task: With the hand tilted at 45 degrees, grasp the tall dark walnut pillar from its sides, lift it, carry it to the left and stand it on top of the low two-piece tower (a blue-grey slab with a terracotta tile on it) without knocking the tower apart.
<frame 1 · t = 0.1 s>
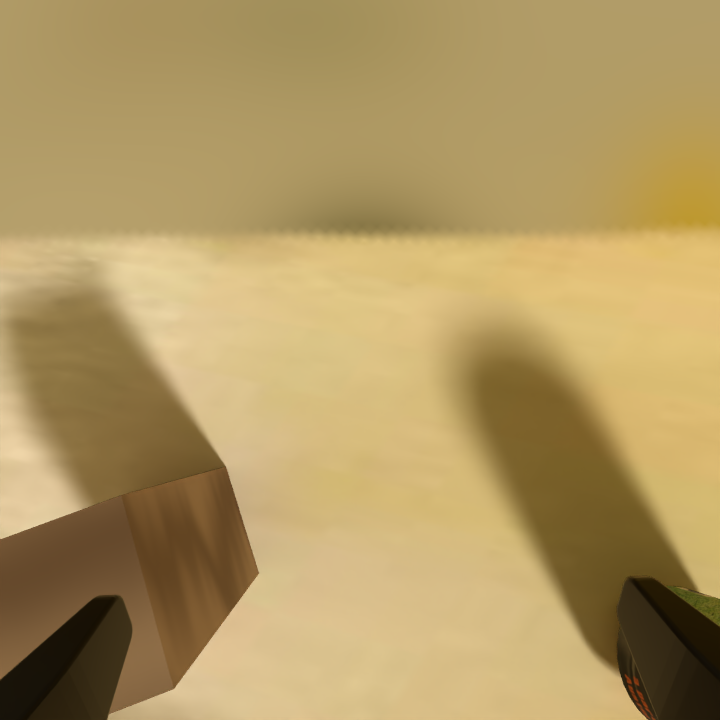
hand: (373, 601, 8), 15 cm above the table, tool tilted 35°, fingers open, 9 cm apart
walnut pillar: (190, 538, 23), on the table
beverage can: (671, 634, 22), on the table
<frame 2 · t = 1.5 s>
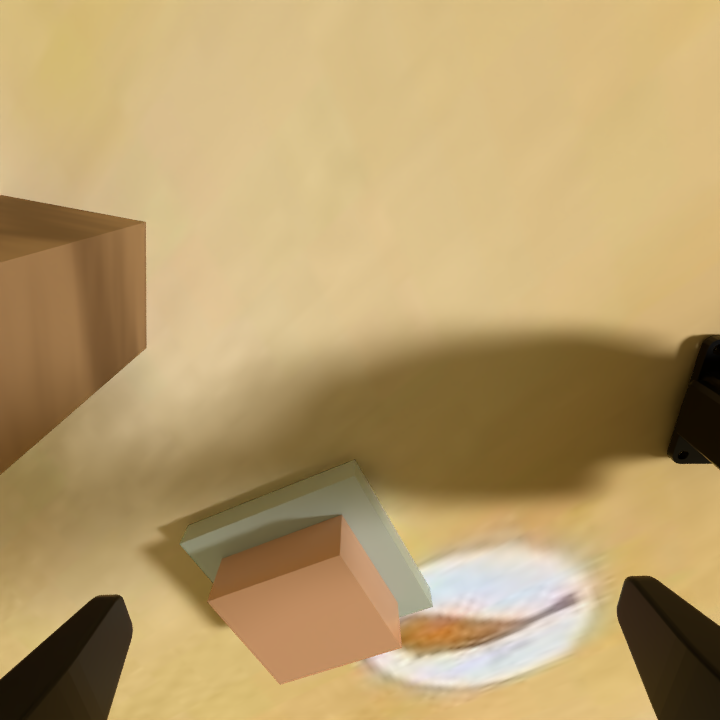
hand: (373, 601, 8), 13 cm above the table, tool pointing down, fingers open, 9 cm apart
walnut pillar: (79, 276, 19), on the table
blue-grey slab: (314, 547, 26), on the table, touching terracotta tile
terracotta tile: (312, 581, 24), point 1 cm above the table, touching blue-grey slab
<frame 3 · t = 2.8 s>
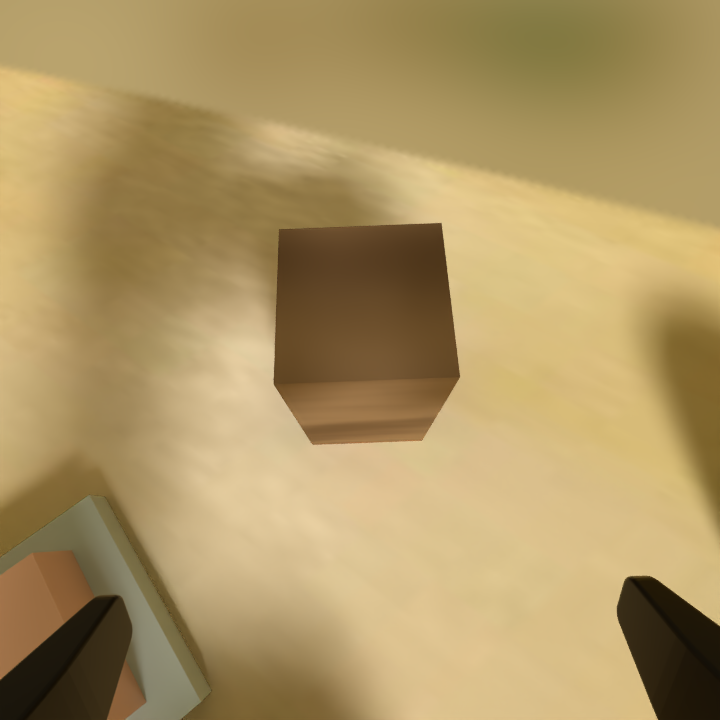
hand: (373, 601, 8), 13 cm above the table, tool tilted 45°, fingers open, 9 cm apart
walnut pillar: (365, 390, 24), on the table
blue-grey slab: (62, 661, 20), on the table, touching terracotta tile
terracotta tile: (28, 682, 18), point 1 cm above the table, touching blue-grey slab
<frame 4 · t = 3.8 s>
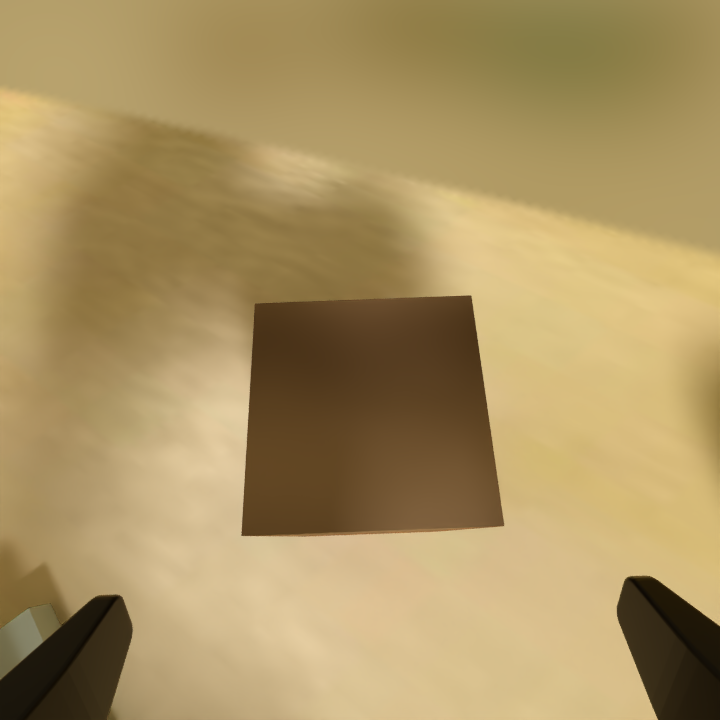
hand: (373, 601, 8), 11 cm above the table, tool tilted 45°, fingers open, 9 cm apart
walnut pillar: (367, 466, 20), on the table
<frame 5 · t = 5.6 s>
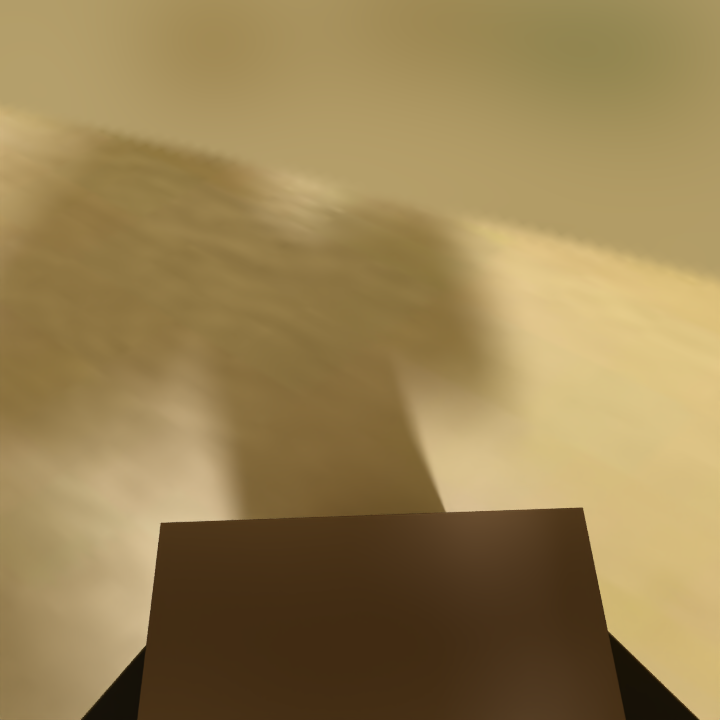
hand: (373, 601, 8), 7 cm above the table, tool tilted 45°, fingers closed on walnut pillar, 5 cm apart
walnut pillar: (372, 619, 14), on the table, touching gripper
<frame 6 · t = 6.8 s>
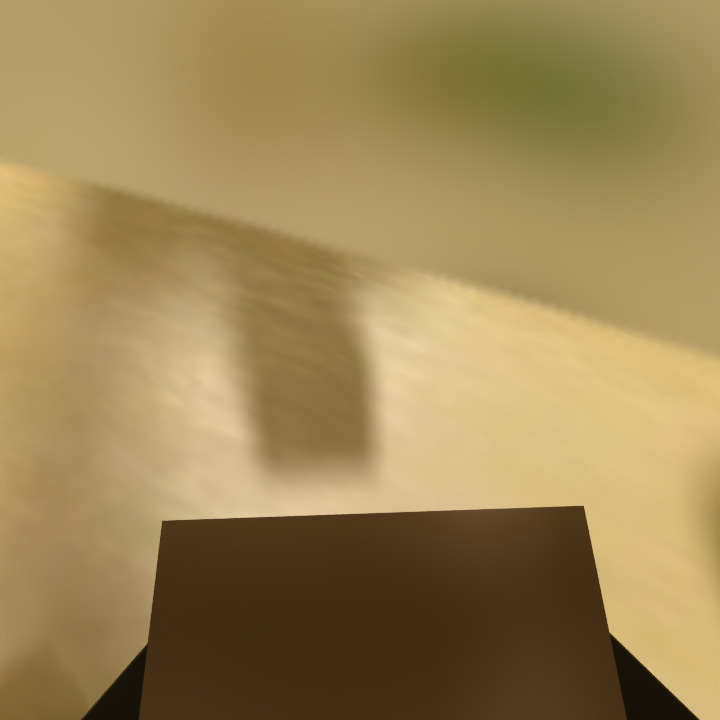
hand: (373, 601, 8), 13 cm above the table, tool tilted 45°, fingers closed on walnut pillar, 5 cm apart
walnut pillar: (373, 617, 14), point 6 cm above the table, touching gripper
when the fingers open (13 cm above the table, at t = 8.6 s): walnut pillar drops 2 cm, resting on terracotta tile.
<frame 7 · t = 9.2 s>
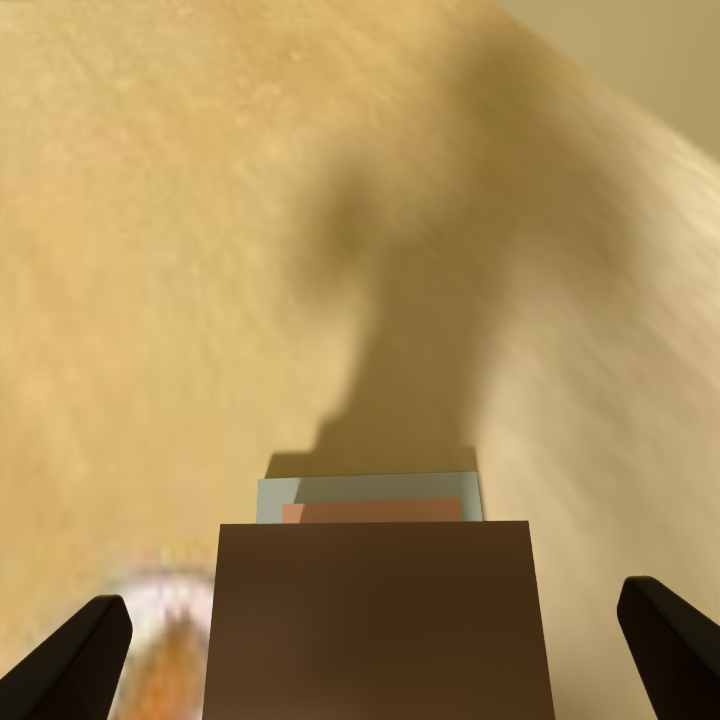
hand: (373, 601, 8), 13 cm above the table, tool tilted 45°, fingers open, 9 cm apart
walnut pillar: (369, 606, 16), point 4 cm above the table, touching terracotta tile
blue-grey slab: (371, 591, 21), on the table, touching terracotta tile
terracotta tile: (374, 591, 19), point 1 cm above the table, touching blue-grey slab, walnut pillar
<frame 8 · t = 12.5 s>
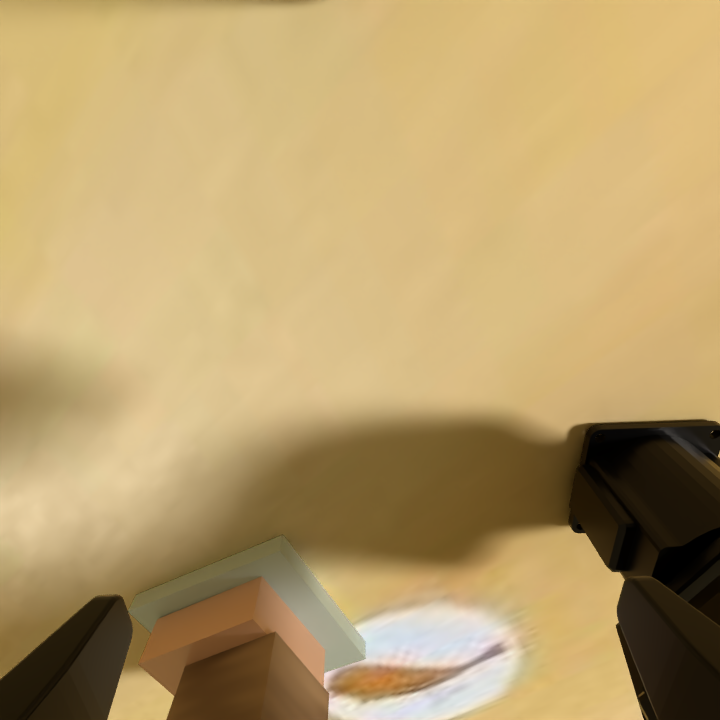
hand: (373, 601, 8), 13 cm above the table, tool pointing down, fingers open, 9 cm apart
walnut pillar: (258, 680, 24), point 4 cm above the table, touching terracotta tile
blue-grey slab: (257, 605, 28), on the table, touching terracotta tile
terracotta tile: (243, 635, 26), point 1 cm above the table, touching blue-grey slab, walnut pillar
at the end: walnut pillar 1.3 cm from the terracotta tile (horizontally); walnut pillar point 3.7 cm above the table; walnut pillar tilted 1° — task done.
